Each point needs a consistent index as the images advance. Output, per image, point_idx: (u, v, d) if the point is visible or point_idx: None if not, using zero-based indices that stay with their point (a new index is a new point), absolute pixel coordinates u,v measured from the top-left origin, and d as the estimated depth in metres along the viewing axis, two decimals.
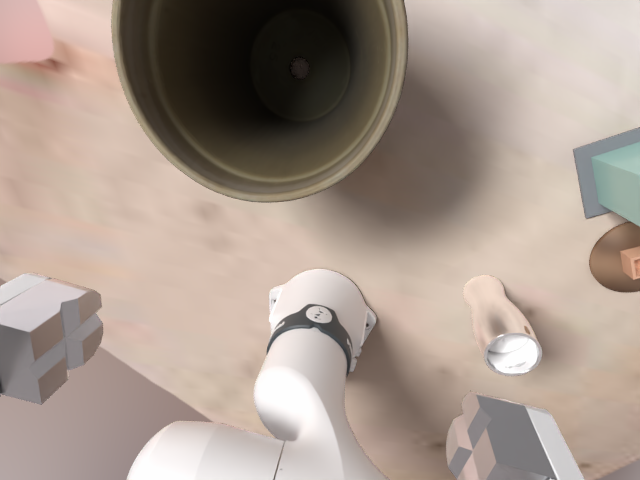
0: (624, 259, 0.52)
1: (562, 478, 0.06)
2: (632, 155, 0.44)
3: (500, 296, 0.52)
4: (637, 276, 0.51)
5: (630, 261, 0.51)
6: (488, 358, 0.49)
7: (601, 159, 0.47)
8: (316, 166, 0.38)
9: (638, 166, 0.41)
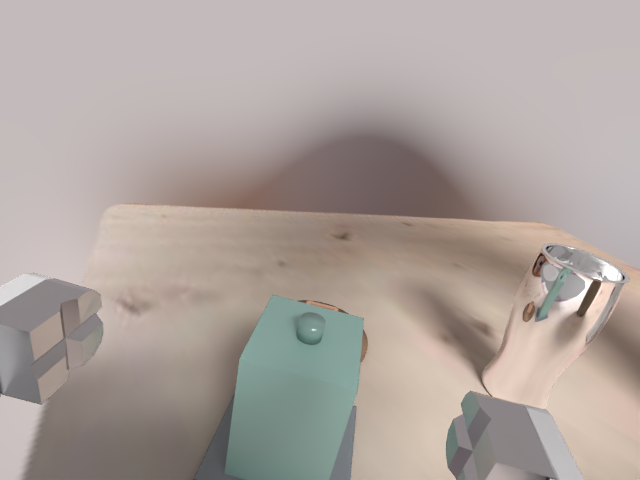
0: None
1: (562, 478, 0.06)
2: (291, 451, 0.23)
3: (530, 356, 0.33)
4: (333, 308, 0.39)
5: None
6: None
7: None
8: None
9: (327, 414, 0.21)
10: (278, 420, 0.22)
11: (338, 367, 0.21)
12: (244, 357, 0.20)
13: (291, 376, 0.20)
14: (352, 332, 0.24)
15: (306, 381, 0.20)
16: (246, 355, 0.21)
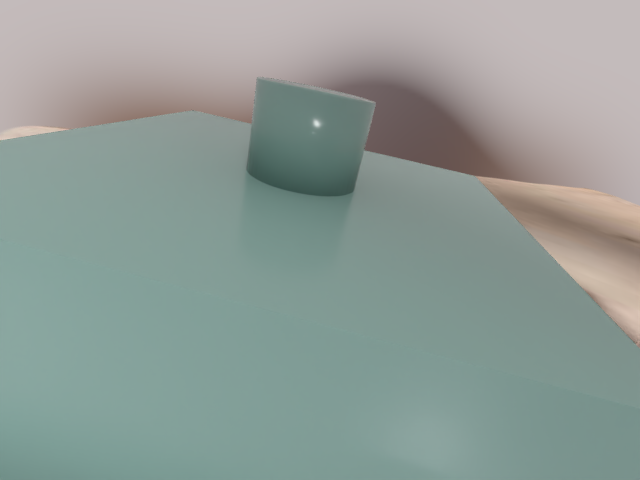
0: None
1: None
2: None
3: None
4: None
5: None
6: None
7: None
8: None
9: None
10: None
11: (473, 277, 0.04)
12: None
13: (160, 311, 0.03)
14: (461, 192, 0.07)
15: (275, 353, 0.03)
16: None
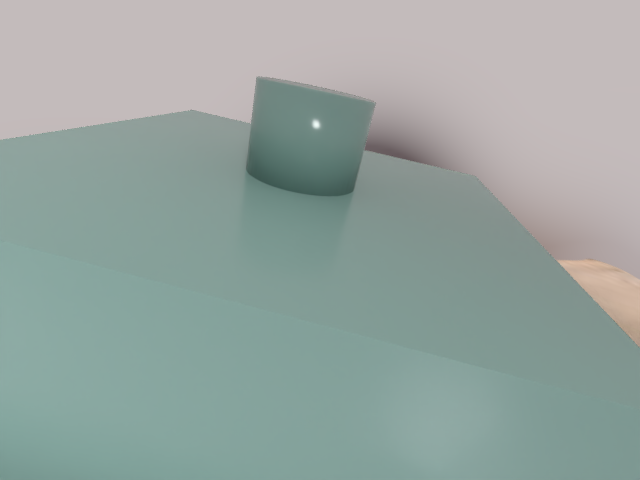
0: None
1: None
2: None
3: None
4: None
5: None
6: None
7: None
8: None
9: None
10: None
11: (474, 277, 0.03)
12: None
13: (158, 312, 0.03)
14: (461, 191, 0.07)
15: (273, 355, 0.03)
16: None
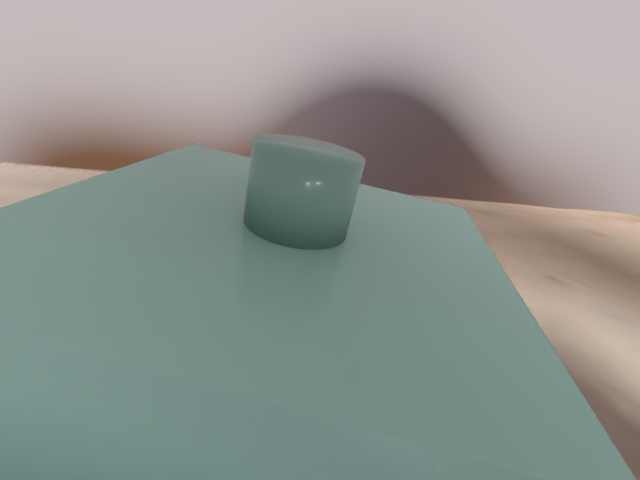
0: None
1: None
2: None
3: None
4: None
5: None
6: None
7: None
8: None
9: None
10: None
11: (451, 343, 0.04)
12: None
13: (162, 396, 0.03)
14: (449, 231, 0.07)
15: (264, 435, 0.03)
16: None
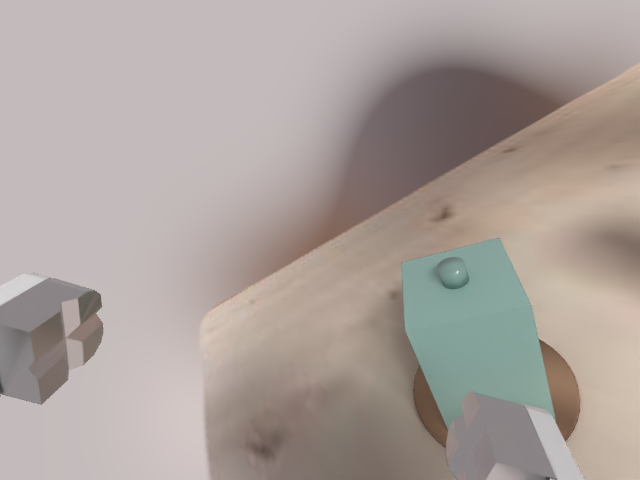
0: None
1: (562, 478, 0.06)
2: (499, 388, 0.23)
3: None
4: None
5: None
6: None
7: (545, 404, 0.23)
8: None
9: (513, 340, 0.20)
10: (470, 366, 0.22)
11: (500, 294, 0.20)
12: (408, 326, 0.21)
13: (460, 322, 0.20)
14: (495, 256, 0.23)
15: (476, 320, 0.20)
16: (409, 324, 0.21)
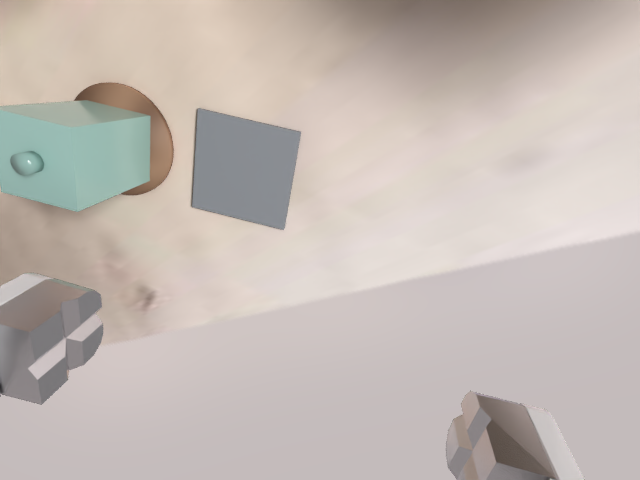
0: None
1: (562, 478, 0.06)
2: (125, 149, 0.33)
3: None
4: None
5: None
6: None
7: (139, 121, 0.34)
8: None
9: (94, 139, 0.29)
10: (108, 167, 0.32)
11: (56, 140, 0.27)
12: (75, 208, 0.29)
13: (77, 174, 0.29)
14: (12, 122, 0.27)
15: (77, 163, 0.28)
16: (73, 207, 0.29)
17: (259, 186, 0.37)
